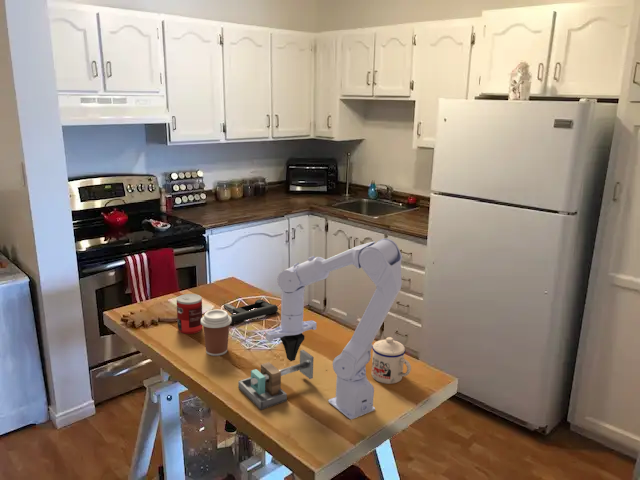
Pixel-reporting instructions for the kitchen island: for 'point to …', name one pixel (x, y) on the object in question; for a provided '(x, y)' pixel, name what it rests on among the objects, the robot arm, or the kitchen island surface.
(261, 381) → the block
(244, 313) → the door handle
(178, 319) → the canned food
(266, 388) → the bearing block
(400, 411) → the kitchen island surface
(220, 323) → the coffee cup
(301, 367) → the shaft
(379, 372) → the teacup with lid
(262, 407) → the tray
